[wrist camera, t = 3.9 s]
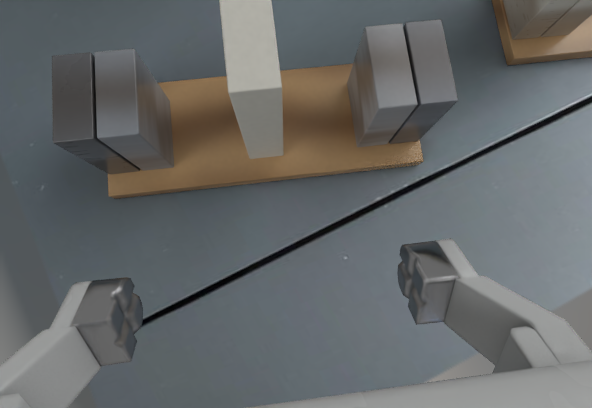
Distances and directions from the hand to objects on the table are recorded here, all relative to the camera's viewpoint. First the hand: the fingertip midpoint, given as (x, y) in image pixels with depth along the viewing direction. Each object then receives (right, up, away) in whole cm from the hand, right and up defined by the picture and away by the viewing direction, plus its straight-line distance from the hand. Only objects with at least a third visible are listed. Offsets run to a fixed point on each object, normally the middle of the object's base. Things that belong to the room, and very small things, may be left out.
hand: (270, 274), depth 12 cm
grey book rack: (-2, +8, +16) cm, 18 cm away
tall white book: (-2, +8, +15) cm, 17 cm away
